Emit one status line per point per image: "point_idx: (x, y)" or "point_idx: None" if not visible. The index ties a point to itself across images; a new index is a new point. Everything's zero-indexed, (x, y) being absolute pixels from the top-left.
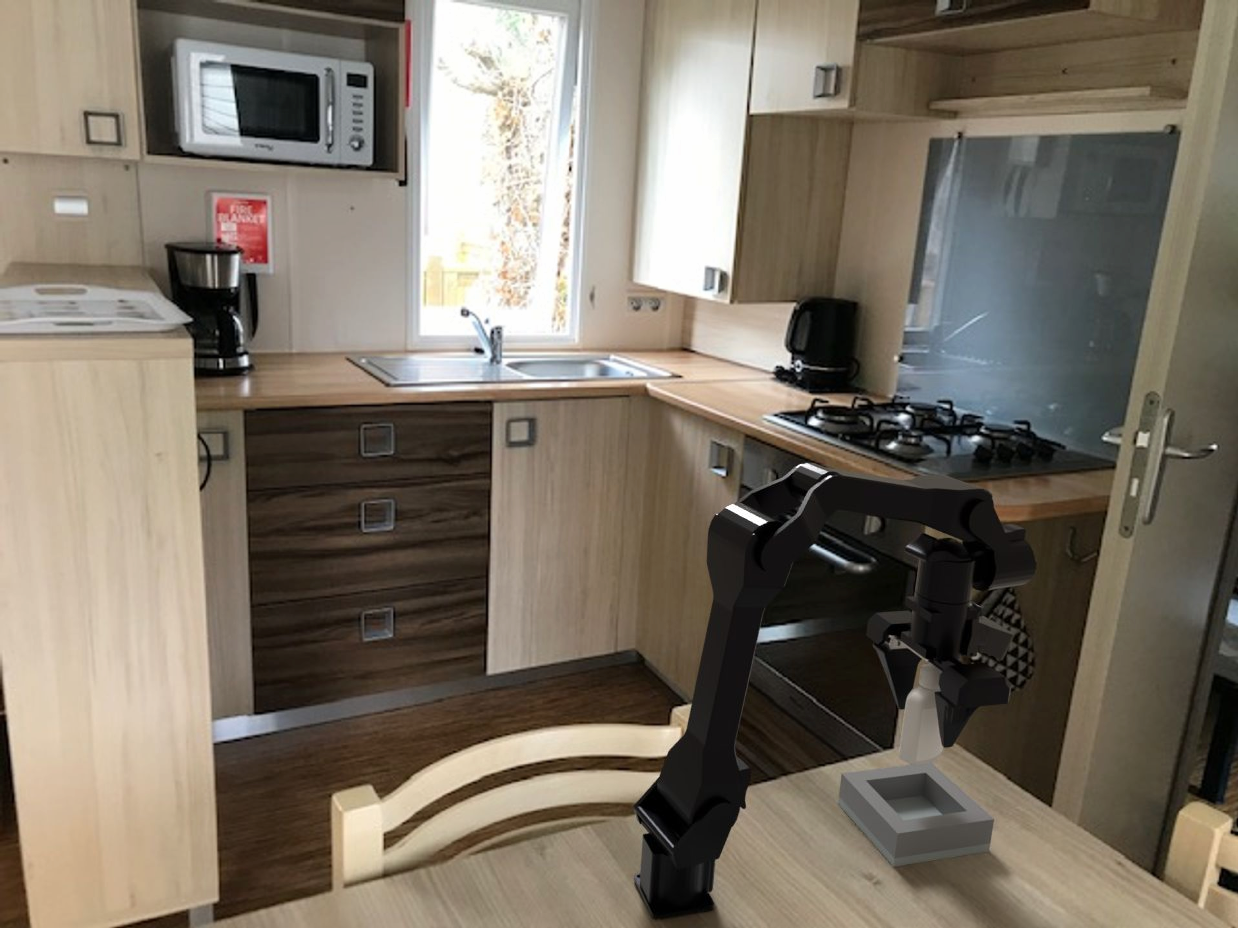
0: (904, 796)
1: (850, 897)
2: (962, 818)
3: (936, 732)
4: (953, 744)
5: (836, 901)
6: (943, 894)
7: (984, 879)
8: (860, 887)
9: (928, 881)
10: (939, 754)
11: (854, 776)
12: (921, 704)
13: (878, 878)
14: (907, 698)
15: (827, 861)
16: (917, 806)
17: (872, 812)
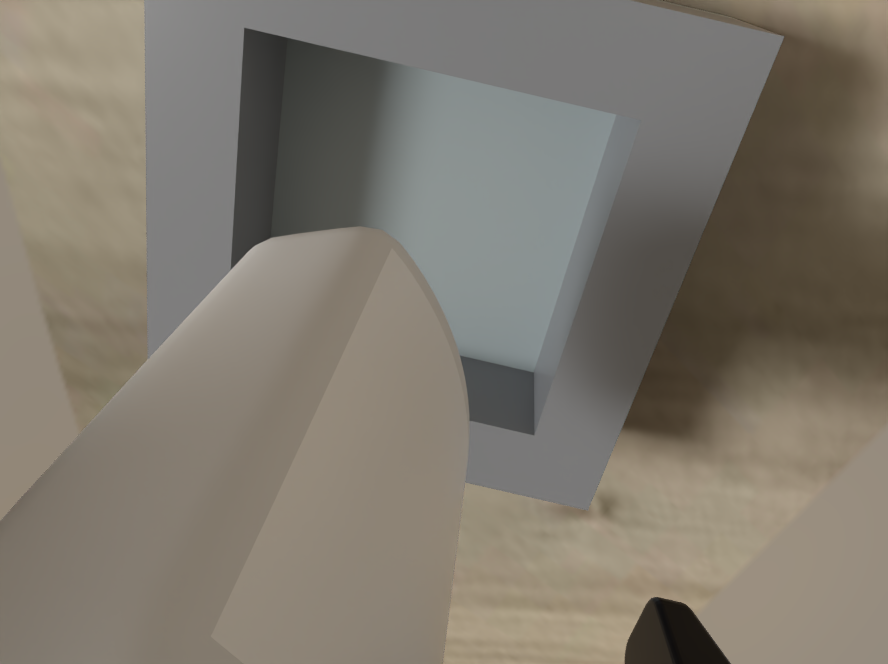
0: (278, 122)
1: (613, 592)
2: (670, 200)
3: (443, 558)
4: (697, 620)
5: (605, 624)
6: (774, 390)
7: (827, 200)
8: (597, 551)
9: (698, 382)
10: (442, 323)
11: None
12: None
13: (596, 491)
14: None
15: (461, 547)
16: (359, 117)
17: None
